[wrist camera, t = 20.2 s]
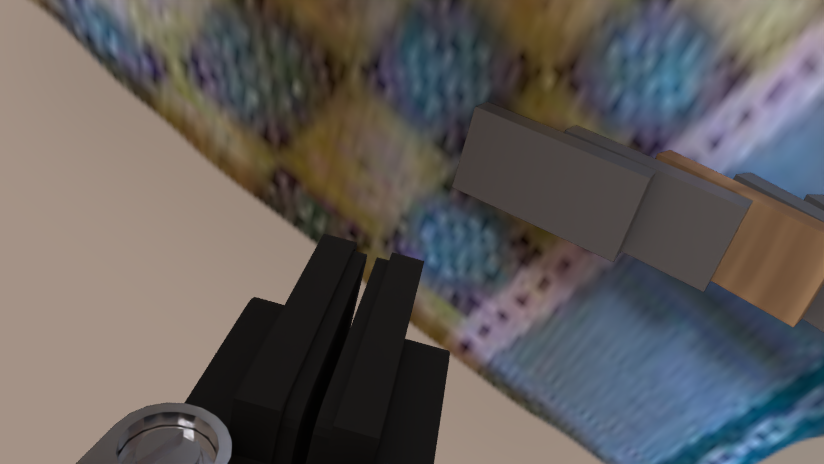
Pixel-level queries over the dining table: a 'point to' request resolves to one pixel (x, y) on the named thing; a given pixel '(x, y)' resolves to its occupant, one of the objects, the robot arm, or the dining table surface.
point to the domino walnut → (767, 249)
